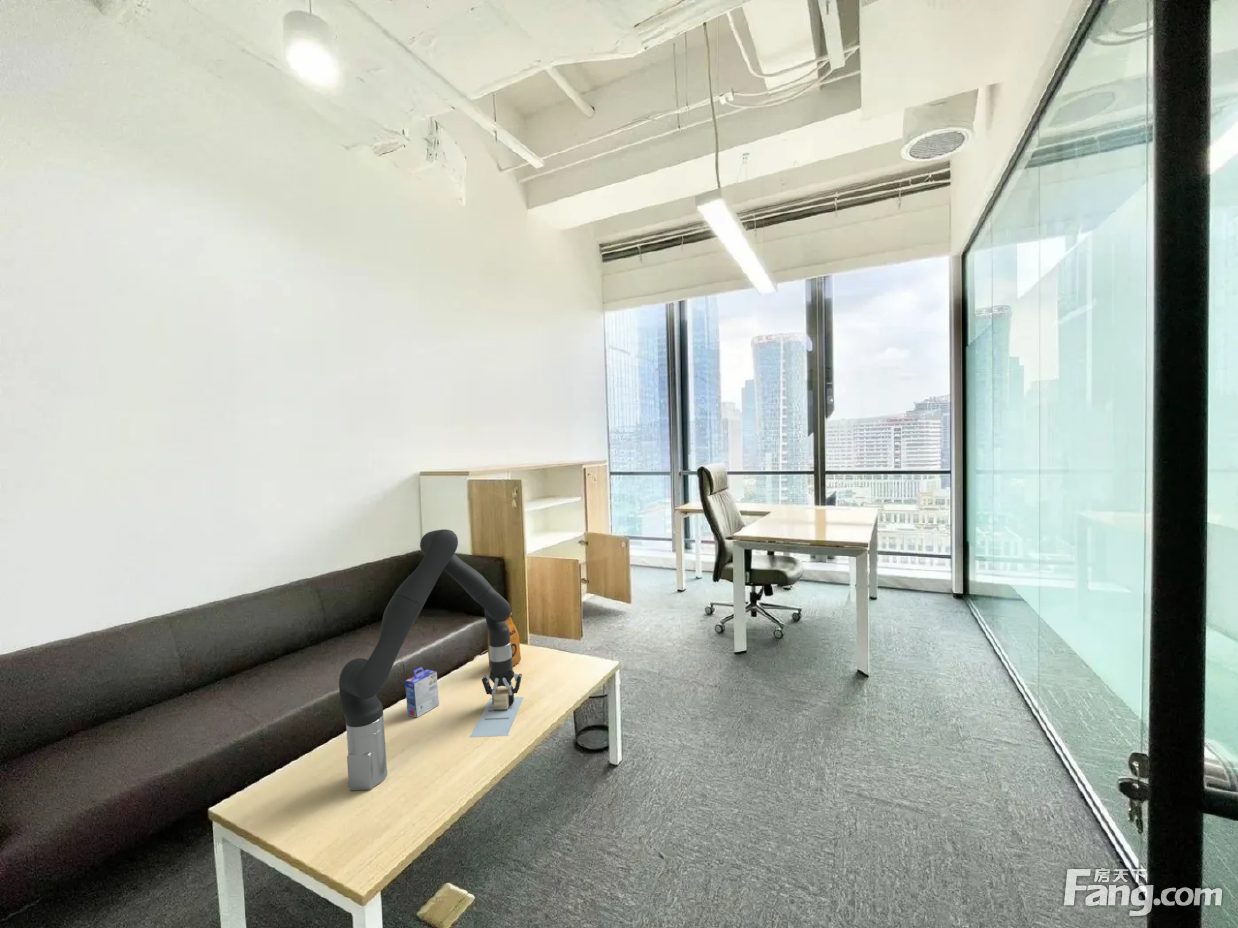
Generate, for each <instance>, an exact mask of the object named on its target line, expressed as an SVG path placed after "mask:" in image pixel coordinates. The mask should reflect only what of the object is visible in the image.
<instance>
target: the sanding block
mask: <svg viewBox="0 0 1238 928" xmlns="http://www.w3.org/2000/svg"><path fill="white" fill-rule="evenodd" d="M493 702H494V711H507V710H508V708H509V693H508V690H507V689H506V686H500V687H498V689H497V691H496V693H495V694H494V696H493Z"/></svg>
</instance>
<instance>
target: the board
mask: <svg viewBox="0 0 1238 928" xmlns="http://www.w3.org/2000/svg"><path fill="white" fill-rule="evenodd" d="M523 700H524V696H517V697H516V696H514V702H513V704H512V706H509V708H508V710H507V711H494V705H493V703H492V697H491V698H490V699H489V700H488V702H487V704H486V706H485V708H484V709H483V711H482V713H481V715H480V717H479V719H478V720H477V722H476V724H475V726H474V728H473V729H472V732H471V734H470V735H469V738H485V737H508V736H509V733H510V732H511V728H512V727H513V724H514V722H515V719H516V717H517V715H518V712H519V711H520V707H521V705H522V703H523Z"/></svg>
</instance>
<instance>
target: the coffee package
mask: <svg viewBox="0 0 1238 928" xmlns="http://www.w3.org/2000/svg"><path fill="white" fill-rule="evenodd" d="M512 615H513V612H512V611H511V615H510V617H509V618H508V619H507V620H505V622H506V625H507V626H508V627H509V631H510V644H511V650H512V666H513V667H514V666H515V665H517V664H519V663H520V662H521V659H522V656H521V646H520V645H521V644H520V636H519V635H520V634H519V631H518V630H517V626H516V625H515V623H514V621H513V619H512V617H511V616H512ZM489 647H490V644H489V630H487V654H488V655H487V656H488V665H489V667H488V668H489V670H490V657H489Z"/></svg>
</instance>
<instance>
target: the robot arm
mask: <svg viewBox="0 0 1238 928" xmlns="http://www.w3.org/2000/svg"><path fill="white" fill-rule="evenodd" d="M419 543H420V544H419V546H420V547H419V548H420V551H421V553H422V554H423V555H424V556H423V557H422V560H421V561H420V563H419V565H418V566H417V567H416V569H414V571H412V573H411V574H410V575H408V576H407V578H406V579H405V580H404V581H403V582H402V583H401V584H400V585H399V587H398V588H397V589H396V591H395V592H394V593H393V595H392V597H391V599H390V600H389V602H388V603H387V606H386V607H385V609H384V610H383V611H384V612H383V615H382V621H381V626H380V627H381V629H380V634H379V639H378V642H377V643H376V645H375V647H374V650H373V651H372V653H371V654H370V656H369V658H368V659H366V658H363V657H362V658H361V657H359V658H354V659H351V660H350V661H349V662H347V663H346V664H345V665H344V666H343V668H342V670H341V672H340V674H339V678H338V679H339V680H338V688H339V697H340V706H341V712H342V714H343V716H344V719H345V726H346V727H345V728H346V742H347V745H346V746H347V756H346V762H347V776H348V777H347V779H348V790H349V791H364V790H365V791H367V790H373V788H375V786H377V785H379V784H380V783H383V781H384V780H385V779H386V777H387V776H388V764H387V752H386V751H387V750H386V736H385V722H384V721H385V720H384V706H383V704H382V702H381V700H379V698H378V696H377V694H379V692H380V691H381V690H382V689H383V687H384V685H385V683H386V681H387V679H388V677H389V675H390V673H391V672H392V671H391V670H392V668H393V666H394V664H395V661H396V659H397V658H398V657H397V656H398V654H399V652H400V650H401V648H402V646H403V644H404V643H405V640H407V639H406V638H407V637H408V635H409V633H410V631H411V629H412V627H413V625H414V624H415V622H416V621H417V620H418V617H419V615H420V613H421V612H422V609H423V607H424V605H425V603H426V602H427V599H428V598H429V596H430V594H431V592H432V591H433V588H434V587H435V585H436V583H437V581H438V580H439V577H440V576H441V575H442V573H443V571H444V572H446V573H447V574H448V575H449V576H451V578H452V579H453V580H455V581H456V583H457V584H459V585H460V586H461V587H462V589H463V590H464V591H465V592H466V593H467V594H468V595H469V596H470V597H471V598H472V599H473V601H475V602H476V603H477V604H479V605H480V606H482V607H483V608H484V617H485V621H486V626H487V628H488V629H487V631H489V644H490V647H489V656H488V658H489V657H490V669H489V670H490V671H489V672H490V673H489V674H488V675H487V674H484V675H483V677H482V679H481V682H482V685H483V687H484V690H485V693H486V695H491V698H492V703H493V705H494V702H493V696H494V694H495V693H496V691H497V689H498V687H500V686H506V689H507V690H508V693H509V706H512V704H513V702H514V697H515V694H518V692H519V690H520V687H521V681H522V678H523V674H522V673H519V674H517V673H515V672H514V670H513V668H514V666H512V650H511V644H510V631H509V627H508V626H507V625H506V622H505V620H507V619H508V618H509V617H511V616H512V615H511V612H512V607H511V604H510V603H509V602H508V601H507V599H505V598H504V597H503V596H502V595H501V594H500V593H499V592H497V591H496V590H495V588H494V587H493V586H492V585H491V584H490V583H489V582H488V580H487V579H486V578H485V577H484V576H483V574H481V573H480V572H478V571H477V570H476V569H475V568H473V567H472V566H470V565H469V564H467V563H466V562H465V561H463V560H462V559H461V558H460V557H458V556H457V554H455V553H456V551H457V548H458V547H459V540H458V536H457V533H455V532H454V531H453V530H450V529H447V528H446V529H437V530H432V531H428V532H427V533H425V534H423V536H422V538H421V540H420V542H419ZM510 615H511V616H510ZM513 679H514V681H515V685H514V686H515V687H514V686H513V681H512V680H513ZM490 681H491V682H492V683H493V687H492V686H491V683H490Z"/></svg>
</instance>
